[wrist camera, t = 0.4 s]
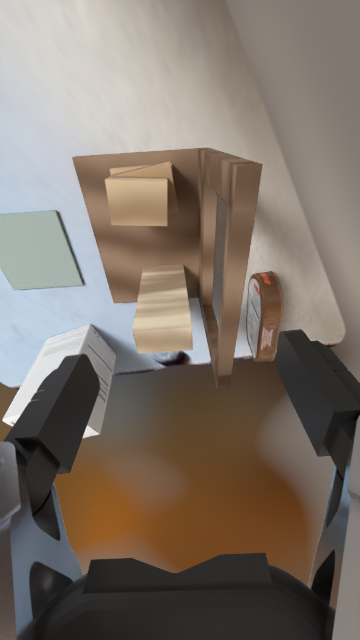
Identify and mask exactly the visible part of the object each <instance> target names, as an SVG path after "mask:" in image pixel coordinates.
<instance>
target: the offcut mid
mask: <svg viewBox="0 0 360 640" xmlns="http://www.w3.org/2000/svg"><path fill="white" fill-rule="evenodd" d="M112 176H138V177H167V214H171V213H175V212H179V209H178V204H177V198H176V193H175V187H174V182H173V176H172V171H171V165H170V161H166V162H162V163H158V164H154V165H150V166H146V167H141V168H137V169H133V170H129V171H125V172H121V173H116V174H113V175H112Z"/></svg>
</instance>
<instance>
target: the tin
mask: <svg viewBox="0 0 360 640" xmlns="http://www.w3.org/2000/svg"><path fill="white" fill-rule="evenodd" d="M282 317H283V299H282V291H281V286H280V283H279V280H278V278H277V276H276V274H275V273H274V272H272V271H269V272H264V273H257V274H253V275H252V276H251V278H250V281H249V287H248V301H247V318H246V329H247V339H248V344H249V346H250V349H251V352H252V356H253V360H254V361H256V362H261V361H270V362H271V361H273V360H274V358H275V353H276V348H277V343H278V336H279V332H280V327H281V323H282Z"/></svg>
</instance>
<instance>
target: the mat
mask: <svg viewBox="0 0 360 640" xmlns="http://www.w3.org/2000/svg"><path fill="white" fill-rule="evenodd" d="M0 268H1V270H2V272H3V273H4V275H5V277H6V278H7V280H8V282H9V283H10V285H11V287H12V288H13V290H21V289H35V288H49V287H63V286H78V285H83V282H82V279H81V276H80V273H79V271H78V268H77V265H76V262H75V260H74V257H73V254H72V252H71V249H70V246H69V243H68V241H67V238H66V235H65V232H64V230H63V227H62V224H61V222H60V219H59V216H58V213H57V211H56V210H54V211H40V212H25V213H10V214H0Z"/></svg>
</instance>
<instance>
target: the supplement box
mask: <svg viewBox="0 0 360 640" xmlns="http://www.w3.org/2000/svg"><path fill="white" fill-rule="evenodd" d="M78 354H86V355H87V356H88V357H89V359H90V361H91V363H92V365H93V368H94V370H95V372H96V374H97V376H98V378H99V381H100V391H99V394H98V397H97V400H96V402H95V405H94V408H93V411H92V413H91V416H90V419H89V422H88V424H87V427H86V430H85V432H84V435H83V438H85V437H89V436H93V435H98V434H100V433H101V428H102V423H103V419H104V414H105V408H106V404H107V399H108V395H109V390H110V385H111V380H112V376H113V371H114V366H115V361H116V356H117V355H116V354H115V353H114V351H113V350H112V349H111V348H110V347H109V345H108V344H107V343H106V342H105V340H104V339H103V338H102V337H101V336H100V335H99V333H98V332H97V331H96V330H95V329H94V327H93V326H92V325H91V324H89V325H86V326H83V327H80V328H77V329H74V330H71V331H68V332H65V333H62V334H59V335H56V336H53V337H51V338H48V339H47V340H46V342H45V344H44V346H43V348H42V349H41V351H40V353H39V355H38V357H37V358H36V360H35V362H34V364H33V366H32V367H31V369H30V371H29V373H28V375H27V376H26V378H25V380H24V382H23V384H22V385H21V387H20V389H19V391H18V393H17V394H16V396H15V398H14V400H13V402H12V403H11V405H10V407H9V409H8V411H7V412H6V414H5V416H4V418H3V422H5V423H7V424H9V425H11V426H14V424H15V423H16V421H17V420H18V418H19V417H20V415H21V414H22V412H23V411H24V409H25V407H26V406H27V404H28V403H29V402H31V398H32V397H33V395H34V394H35V393H36V392H37V389H38V388H39V386H40V385H41V383H42V381H43V380H44V379H45V378H46V377H47V376H48V375H49V374H50V373H51V372H52V371H53V370H55V369H57V368H58V367H59V365H60V364H61V362H62V360H63V359H64V357H66V356H69V355H78Z"/></svg>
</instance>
